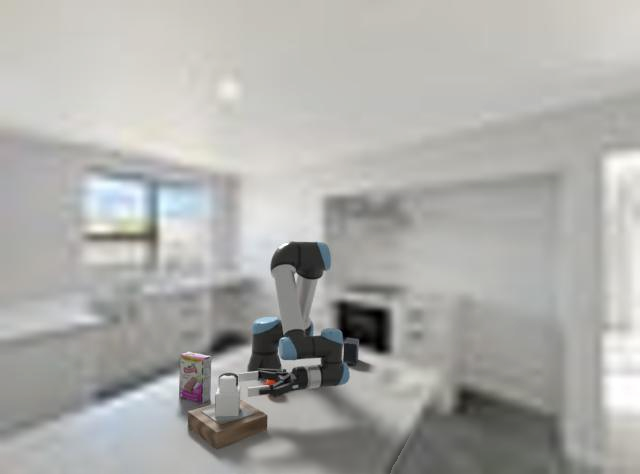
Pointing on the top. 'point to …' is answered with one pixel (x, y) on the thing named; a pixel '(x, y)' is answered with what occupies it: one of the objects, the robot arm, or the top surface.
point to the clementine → (270, 383)
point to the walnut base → (227, 424)
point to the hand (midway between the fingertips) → (243, 384)
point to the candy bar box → (195, 377)
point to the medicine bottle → (227, 396)
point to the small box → (351, 351)
